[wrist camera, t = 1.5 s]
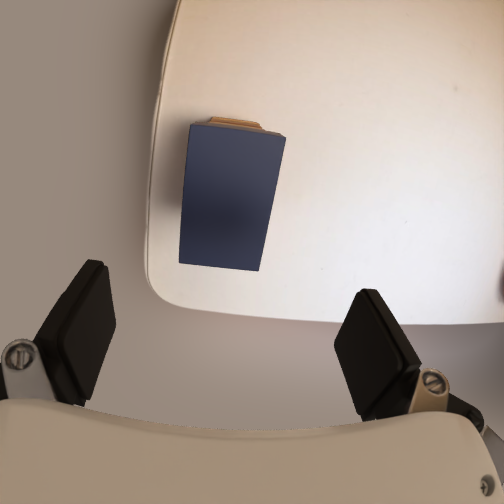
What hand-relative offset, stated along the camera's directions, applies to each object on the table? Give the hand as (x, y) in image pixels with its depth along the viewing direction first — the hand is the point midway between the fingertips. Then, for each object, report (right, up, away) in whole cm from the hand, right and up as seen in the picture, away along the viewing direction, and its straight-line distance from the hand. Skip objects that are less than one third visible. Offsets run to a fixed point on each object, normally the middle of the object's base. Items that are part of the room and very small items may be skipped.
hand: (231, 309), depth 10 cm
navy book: (-1, +6, +11) cm, 13 cm away
